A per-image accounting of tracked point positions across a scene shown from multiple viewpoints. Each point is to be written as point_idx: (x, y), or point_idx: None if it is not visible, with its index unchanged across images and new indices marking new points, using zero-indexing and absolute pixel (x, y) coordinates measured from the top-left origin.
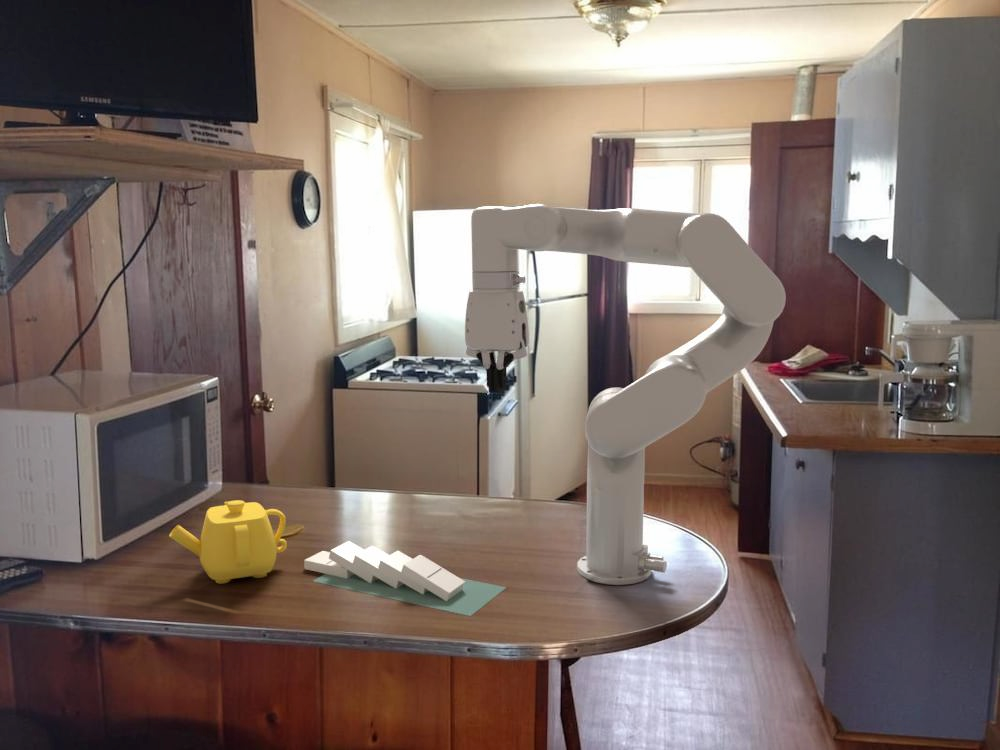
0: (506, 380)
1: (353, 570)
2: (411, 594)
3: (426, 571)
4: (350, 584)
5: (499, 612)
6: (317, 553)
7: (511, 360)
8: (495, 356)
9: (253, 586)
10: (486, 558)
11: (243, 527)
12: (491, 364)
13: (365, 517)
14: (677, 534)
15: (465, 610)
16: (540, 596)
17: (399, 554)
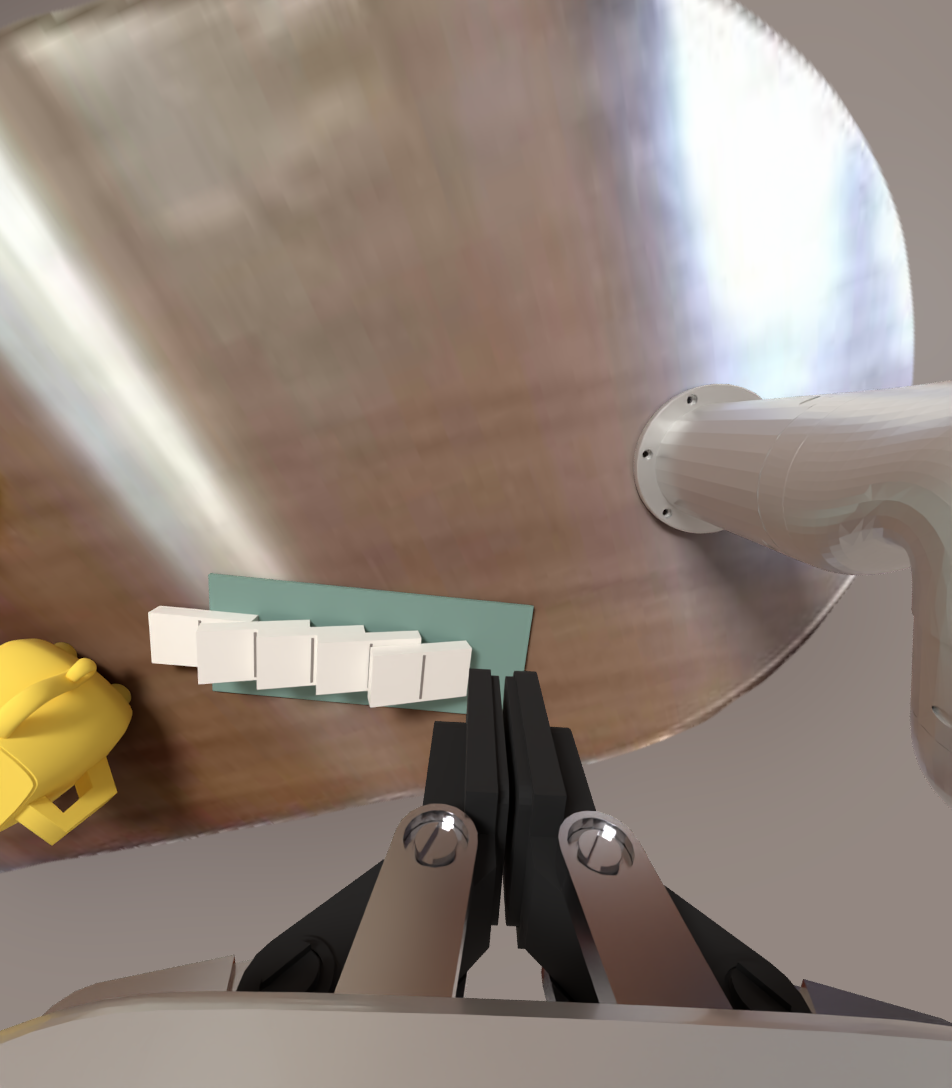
0: (576, 750)
1: None
2: None
3: (409, 686)
4: None
5: (550, 683)
6: (149, 627)
7: (710, 951)
8: (464, 929)
9: (137, 726)
10: (444, 480)
11: (41, 821)
12: (472, 958)
13: (45, 321)
14: (835, 157)
15: (502, 705)
16: (595, 610)
17: (328, 651)
